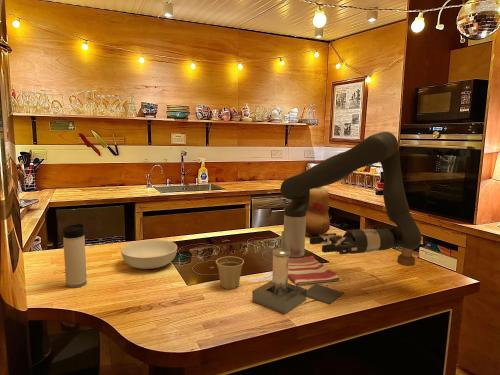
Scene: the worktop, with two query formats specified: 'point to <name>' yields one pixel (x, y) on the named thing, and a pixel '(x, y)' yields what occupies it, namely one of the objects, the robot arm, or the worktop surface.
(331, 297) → the rubber mat
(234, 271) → the flower pot
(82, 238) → the travel mug
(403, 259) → the pepper mill
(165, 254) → the serving bowl
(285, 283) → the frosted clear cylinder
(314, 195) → the butternut squash
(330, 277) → the dish towel
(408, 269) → the worktop surface
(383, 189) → the robot arm
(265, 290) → the bore block
